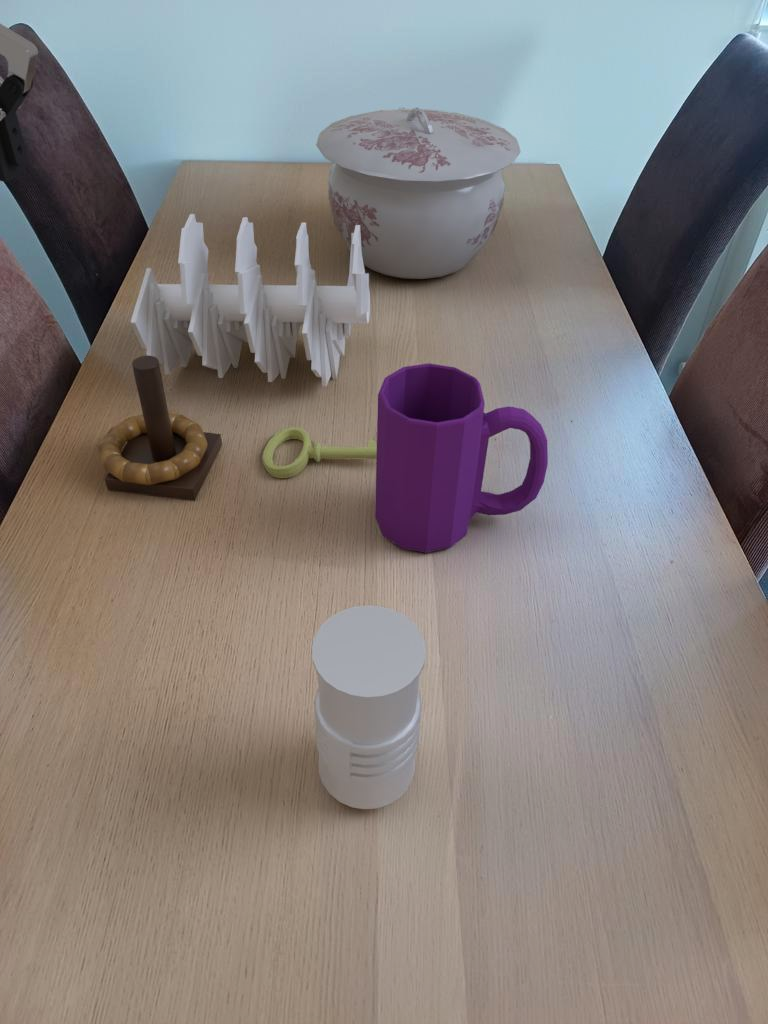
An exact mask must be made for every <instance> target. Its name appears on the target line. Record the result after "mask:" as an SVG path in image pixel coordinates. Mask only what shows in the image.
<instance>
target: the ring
mask: <svg viewBox="0 0 768 1024" xmlns="http://www.w3.org/2000/svg"><path fill="white" fill-rule="evenodd" d="M169 417H170V423H171V428H172V433H176V434H178V435H180V436H181V437H183V438H185V441H186V445H185V447H184V449H183V451H182V452H180V453H179V454H177V455H176V456H174V457H172V458H171V459H169V460H166V461H161V462H156V463H152V464H143V463H134V462H130V461H128V460H127V459H125V458H123V457H122V455H121V452H122V450H123V449H124V447H125V445H126V444H127V442H128V441H130V440H132V439H133V438H135V437H137V436H138V435H141V434H146V433H147V431H146V426H145V422H144V417H143V413H142V414H138V415H133V416H130V417H128V418H127V419H125V420H123V421H121V422H119V423H117V424H116V425H113V426H111V428H110V429H109V430H108V431H107V433H106V434H105V436H104V437H103V439H102V441H101V442H100V443H99V445H98V454H99V458H100V462H101V463H100V464H101V466H102V469H103V470H105V472H107V473H108V472H109V473H110V474H112V475H113V476H115V477H116V478H118V479H119V480H121V481H123V482H128V483H136V484H145V485H153V484H157V483H162V482H166V481H171V480H175V479H178V478H180V477H181V476H183V475H184V474H186V473H187V472H189V471H190V470H192V469H194V468H195V467H197V466H198V465H199V463H200V461H201V459H202V457H203V455H204V453H205V451H206V449H207V440H206V438H205V435H204V432H205V431H204V430H203V428H202V426H201V425H200V424H199V423H198V422H196V421H194V420H192V419H190V418H188V417H187V416H185V415H183V414H182V413H172V412H169Z"/></svg>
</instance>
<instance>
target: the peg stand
mask: <svg viewBox="0 0 768 1024" xmlns="http://www.w3.org/2000/svg"><path fill="white" fill-rule="evenodd" d="M131 367H132V371H133V375H134V380H135V384H136V390H137V395H138V398H139V402H140V408H141V412H142V414H143V417H144V422H145V426H146V431H147V433H146V434H141V435H138V436H137V437H135V438H133V439H132V440H130V441H128V442H126V443H125V445H124V446H123V448H122V449H121V455H122V457H123V458H125V459H127V460H128V461H130V462H134V463H143V464H152V463H156V462H161V461H166V460H169V459H171V458H172V457H174V456H176V455H177V454H179V453H180V452H182V451H183V449H184V447H185V445H186V441H185V438H183V437H181V436H180V435H178V434H176V433H172V428H171V423H170V417H169V413H170V412H169V408H168V402H167V397H166V392H165V387H164V382H163V376H162V371H161V365H159V361H158V359H157V358H156V357H154V356H148V355H147V356H146V355H140V356H138V357H135V359H133V360H132V362H131ZM203 432H204V435H205V438H206V440H207V449H206V451H205V453H204V455H203V457H202V459H201V461H200V463H199V465H198V466H197V467H195V468H194V469H192V470H190V471H189V472H187V473H186V474H184V475H183V476H181V477H180V478H178V479H175V480H171V481H166V482H162V483H157V484H153V485H145V484H136V483H128V482H123V481H121V480H119V479H118V478H116V477H115V476H113V475H112V474H110V473H109V472H107V474H106V475H105V477H104V482H105V486H106V489H107V491H113V492H121V493H128V494H139V495H146V496H153V497H154V496H155V497H162V498H171V499H177V500H179V499H180V500H186V501H196V499H197V497H198V495H199V493H200V491H201V489H202V487H203V485H204V483H205V481H206V479H207V477H208V475H209V473H210V471H211V469H212V467H213V465H214V463H215V460H216V459H217V456H218V454H219V452H220V450H221V448H222V446H223V442H222V435H221V433H216V432H214V433H213V432H208V431H207V432H206V431H203Z"/></svg>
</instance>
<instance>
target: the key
mask: <svg viewBox="0 0 768 1024" xmlns="http://www.w3.org/2000/svg"><path fill="white" fill-rule="evenodd" d="M293 439H294V440H300V441H301V442H303V447H302V449H301V452H300V454H299V456H298V457H297V458H296V459H295V460H293V462H292V463H290V464H287V465H277V464H276V465H275V463H274V461H273V456H274V453H275V450H276V449H277V448H278V447H279V446H280V445H281V444H282V443H284V442H285V441H288V440H293ZM266 444H267V445H266V446H265V448H264V451H263V454H262V464H263V466H264V468H265V470H266V471H267V472H268V474H269V475H270V476H272V477H274V478H277V479H288V478H292V477H295V476H296V475H298V474H299V473H300V472H302V471H303V470H304V469H305V467H306V466H307V464H308V462H309V460H310V459H314V460H315V462H318V463H319V462H321V461H322V459H346V460H347V459H349V460H350V459H351V460H352V459H357V460H360V459H361V460H376V456H377V441H376V440H374V439H369V440H368V444H367V446H322V444H321V443H320V442H316V443H315V444H314V446H312V440H311V438H310V435H309V433H308V432H307V431H306V430H305V429H303V428H302V427H297V426H295V427H294V426H291V427H287V428H283V429H281V430H279V431H278V432H277V433H275V434H274V435H273V436H272V437H271V438H270V440H268V442H267V443H266Z"/></svg>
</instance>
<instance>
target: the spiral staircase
mask: <svg viewBox="0 0 768 1024" xmlns="http://www.w3.org/2000/svg"><path fill="white" fill-rule="evenodd" d="M295 242H296V244H295V245H296V247H295V255H294V269H295V272H296V280H295V285H293V284H292V285H291V284H290V285H287V284H286V285H283V284H277V285H276V284H264V282H263V277H262V274H261V265H260V264H258V263H257V256H258V255H257V254H258V247H257V245H256V243H255V234H254V222H253V221H252V222H250V221H249V219H248V217H247V216H243V217H242V220H241V223H240V224H239V229H238V232H237V236H236V247H235V248H236V249H235V250H236V251H235V265H234V273H235V274H236V275H235V276H237V284H210V276H209V266H208V261H209V252H210V251H209V248H208V246H207V244H206V242H205V239H204V223H203V222H197V219H196V214H195V213H190V214H189V215H188V217H187V220H186V222H185V224H184V226H183V227H181V232H180V240H179V251H178V258H177V259H178V260H177V265H178V266H179V273H180V283H158V281H157V279H156V277H155V274H154V271H153V269H152V267H147V268H146V270H145V273H144V276H143V280H142V283H141V286H140V290H139V293H138V296H137V300H136V303H135V306H134V309H133V313H132V316H131V319H130V325H131V327H132V329H133V332H134V334H135V336H136V338H137V341H138V342H139V345H140V348H141V349H143V350H145V349H146V355H145V356H147V355H148V356H154V357H156V358H157V359H158V361H159V366H163V370H164V374H165V375H170V374H171V373H172V371H173V370H174V369H176V368H177V366H178V365H179V364H181V366H182V368H187V367H188V363H189V360H190V357H191V356H190V355H191V351H192V347H194V350H195V352H196V354H197V356H198V357H199V356H200V357H201V359H202V361H201V363H202V366H204V367H207V368H209V369H211V370H217V377H218V379H223V378H224V377H225V375H226V373H227V371H228V370H229V368H230V366H231V364H232V368H234V369H235V368H239V360H240V356H241V350H242V344H243V342H245V343H246V342H247V343H248V347H249V351H250V353H252V354H254V364H256V366H257V367H258V368H259V370H261V372H262V373H263V374H264V373H265V374H266V373H267V382H268V383H273V382H274V381H275V379H276V378H277V377H278V376H279V374H280V379H283V380H286V378H287V373H288V368H289V364H290V363H289V362H290V358H291V359H296V347H297V346H296V344H297V337H298V335H299V332H300V329H301V327H302V330H301V331H302V332H301V335H302V341H303V346H304V352H305V356H306V357H305V358H306V360H307V361H311V362H310V363H311V364H310V365H311V366H310V367H311V368H310V371H312V373H313V374H314V375H315V376H316V378H321V387H327V386H328V384H329V381H330V379H331V378H332V380H333V381H338V374H339V373H338V372H339V365H340V358H341V357H345V352H346V351H345V350H346V349H345V348H346V339H349V338H350V335H351V330H352V326H354V325H356V324H369V323H370V316H371V295H370V294H371V292H370V273H369V272H367V273H366V270H365V269H366V268H365V265H364V264H363V258H362V250H361V232H360V225H356V226H355V231H354V233H351V250H350V256H349V269H348V270H349V271H348V278H347V283H346V285H317V279H316V270H315V269H313V268H312V265H311V261H310V251H309V234H308V230H307V222H301V223H300V226H299V229H298V230H297V234H296V236H295Z"/></svg>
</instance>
